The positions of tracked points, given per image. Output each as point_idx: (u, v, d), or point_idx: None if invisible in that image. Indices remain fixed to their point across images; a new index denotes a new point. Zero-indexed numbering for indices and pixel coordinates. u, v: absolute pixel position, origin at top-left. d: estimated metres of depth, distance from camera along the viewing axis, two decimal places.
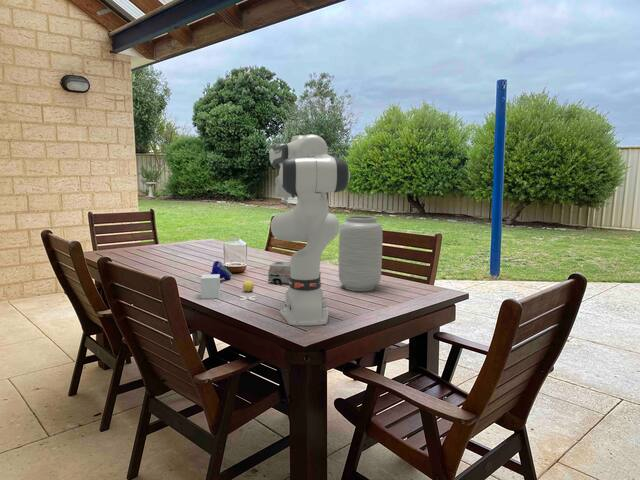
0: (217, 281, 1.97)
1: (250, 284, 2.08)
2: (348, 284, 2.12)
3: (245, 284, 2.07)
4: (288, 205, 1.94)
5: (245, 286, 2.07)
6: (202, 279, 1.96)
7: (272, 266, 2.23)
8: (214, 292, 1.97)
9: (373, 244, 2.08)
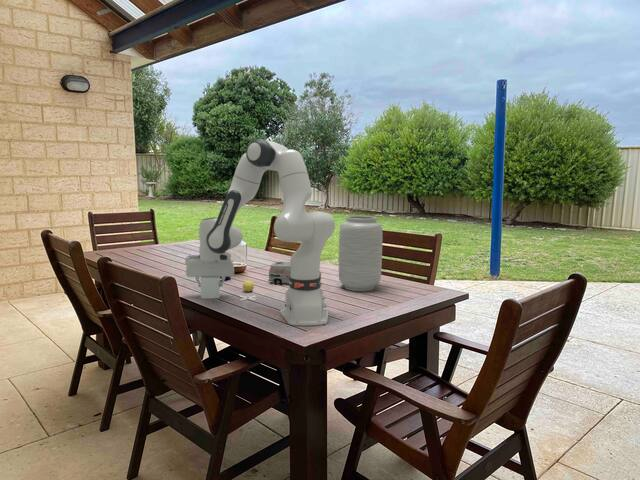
0: (217, 281, 1.97)
1: (250, 284, 2.08)
2: (348, 284, 2.12)
3: (245, 284, 2.07)
4: (199, 284, 1.99)
5: (245, 286, 2.07)
6: (202, 279, 1.96)
7: (273, 266, 2.23)
8: (214, 292, 1.97)
9: (373, 244, 2.08)
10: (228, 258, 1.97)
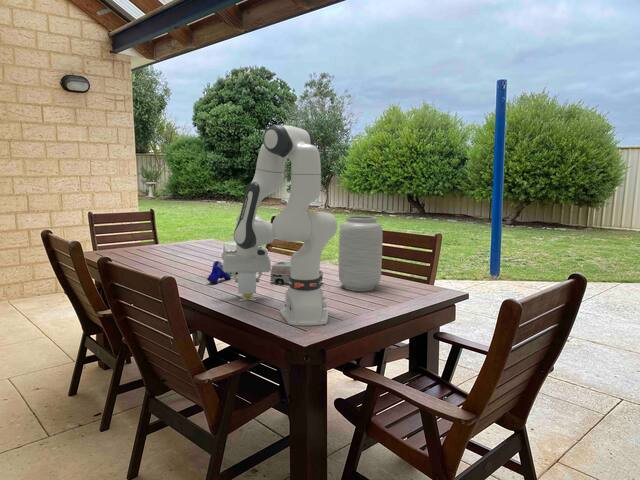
0: (254, 277, 1.94)
1: None
2: (348, 284, 2.12)
3: None
4: (236, 280, 1.96)
5: None
6: (239, 275, 1.93)
7: (274, 266, 2.23)
8: (251, 288, 1.95)
9: (373, 244, 2.08)
10: (266, 253, 1.93)
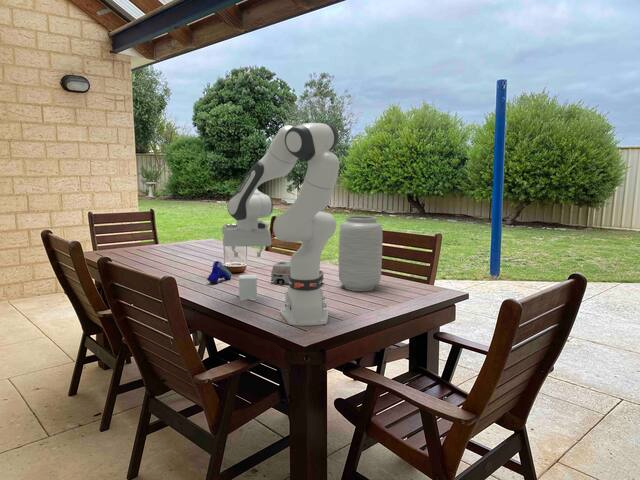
0: (255, 281, 1.97)
1: None
2: (348, 284, 2.12)
3: None
4: (235, 254, 1.94)
5: None
6: (240, 279, 1.96)
7: (275, 266, 2.23)
8: (252, 293, 1.97)
9: (373, 244, 2.08)
10: (266, 227, 1.92)
